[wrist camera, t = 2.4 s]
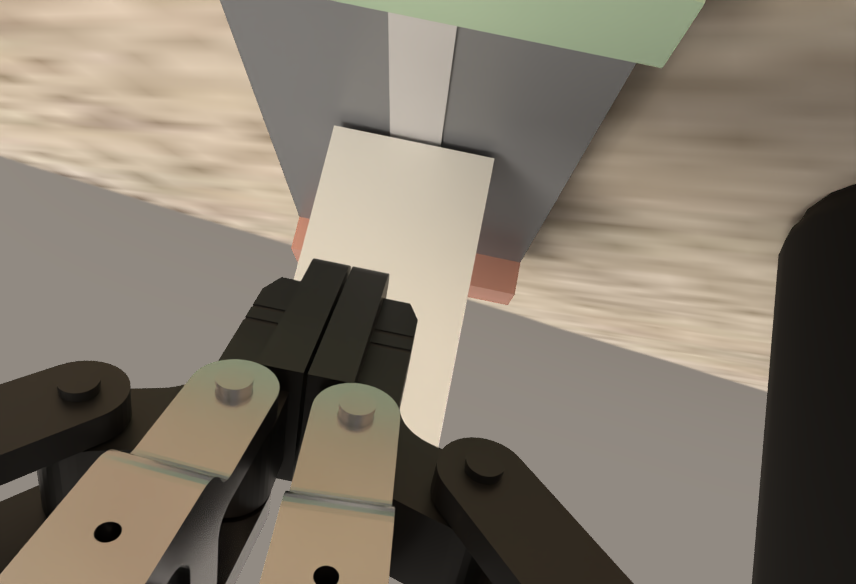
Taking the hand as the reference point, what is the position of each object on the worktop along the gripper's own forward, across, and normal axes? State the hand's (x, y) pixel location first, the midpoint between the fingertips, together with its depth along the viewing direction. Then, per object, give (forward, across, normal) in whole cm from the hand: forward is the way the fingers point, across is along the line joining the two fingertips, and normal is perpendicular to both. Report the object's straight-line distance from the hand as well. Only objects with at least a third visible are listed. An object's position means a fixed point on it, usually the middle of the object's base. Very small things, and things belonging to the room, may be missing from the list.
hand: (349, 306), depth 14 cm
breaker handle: (+10, 0, -1) cm, 10 cm away
